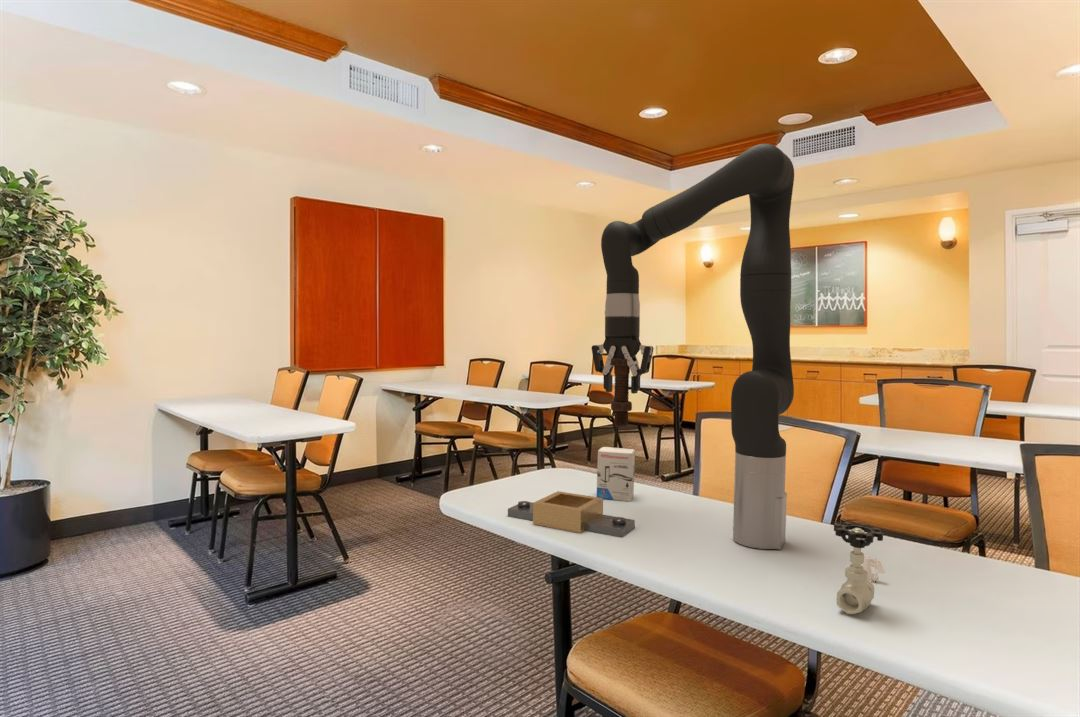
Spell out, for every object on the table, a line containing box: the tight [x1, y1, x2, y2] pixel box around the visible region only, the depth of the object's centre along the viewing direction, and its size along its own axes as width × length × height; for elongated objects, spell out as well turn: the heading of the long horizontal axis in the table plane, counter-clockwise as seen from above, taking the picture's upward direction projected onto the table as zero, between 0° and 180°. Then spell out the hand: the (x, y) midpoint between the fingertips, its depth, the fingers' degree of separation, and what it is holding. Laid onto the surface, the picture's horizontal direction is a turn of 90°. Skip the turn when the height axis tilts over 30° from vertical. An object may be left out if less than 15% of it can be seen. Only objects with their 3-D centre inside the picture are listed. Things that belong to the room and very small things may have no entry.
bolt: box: [610, 358, 634, 428], centre depth 137 cm, size 6×5×15 cm
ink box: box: [596, 446, 636, 502], centre depth 151 cm, size 9×5×12 cm, turn 73°
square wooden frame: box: [532, 490, 604, 534], centre depth 132 cm, size 11×11×4 cm
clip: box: [861, 555, 885, 583], centre depth 103 cm, size 5×2×4 cm, turn 41°
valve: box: [833, 521, 884, 615], centre depth 92 cm, size 7×7×12 cm
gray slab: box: [507, 500, 534, 522], centre depth 137 cm, size 8×7×2 cm
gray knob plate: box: [585, 513, 636, 538], centre depth 128 cm, size 9×7×2 cm
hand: (621, 392), depth 137 cm, fingers closed on bolt, 5 cm apart
